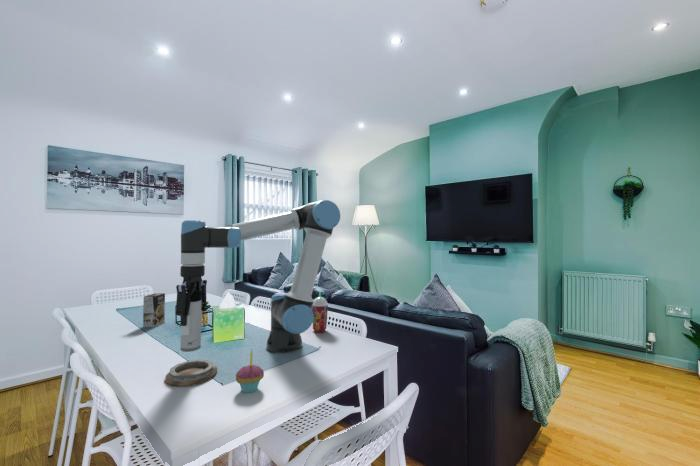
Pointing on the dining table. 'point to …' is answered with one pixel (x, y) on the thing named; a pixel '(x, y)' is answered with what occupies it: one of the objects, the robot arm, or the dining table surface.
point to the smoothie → (319, 314)
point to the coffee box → (154, 310)
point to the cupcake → (249, 376)
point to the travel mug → (193, 325)
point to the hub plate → (191, 373)
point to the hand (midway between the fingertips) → (191, 331)
